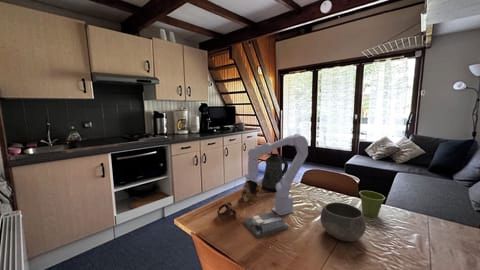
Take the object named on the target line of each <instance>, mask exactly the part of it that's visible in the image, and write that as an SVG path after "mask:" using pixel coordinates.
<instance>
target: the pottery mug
mask: <svg viewBox="0 0 480 270" xmlns="http://www.w3.org/2000/svg"><path fill="white" fill-rule="evenodd" d="M224 207H225V211H223V212H220V211H221V210H222V209H223V208H224ZM216 214H217V218H219V219H223V218H226V219H227V217H228V215H233V216H234V217H235V218H234V219H235V220H237V218H238V214H237V211H236V210H235V208H234V207H233V204H232V202H230V201H228V202H226V203H223V204H222V205H220V206H219V207H218V208H217V211H216Z"/></svg>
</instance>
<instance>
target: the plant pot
mask: <svg viewBox="0 0 480 270" xmlns="http://www.w3.org/2000/svg"><path fill="white" fill-rule="evenodd" d="M358 194H359V196H360V202H361V211H362V213H363V216H364V217H368V218H378V216H379V213H380V211H381V208H382V204H383V203H384V201H385V199H386V197H385V196H384V195H383V194H381V193H378V192H375V191H372V190H360V191H359V192H358Z"/></svg>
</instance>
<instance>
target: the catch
mask: <svg viewBox="0 0 480 270" xmlns="http://www.w3.org/2000/svg"><path fill="white" fill-rule="evenodd" d="M251 218H252V223H253V224H254V225H256V224H255V222H256V223H257V224H258V225H259V224H263V223H264V221H263V220H262V219H261V218H260V217H259V215H254V216H252V217H251Z"/></svg>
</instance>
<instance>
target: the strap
mask: <svg viewBox="0 0 480 270" xmlns="http://www.w3.org/2000/svg"><path fill="white" fill-rule="evenodd" d="M281 219H282V218H281V217H280V216H279V217H276V218H271V219H266V220H263V221H264V223H263V224H259V225H258V224H257V223H256V222H255V224H256V225H257V226H258V227H260V226H263V225H266V224H270V223H273V222H277V221H280V220H281Z"/></svg>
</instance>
